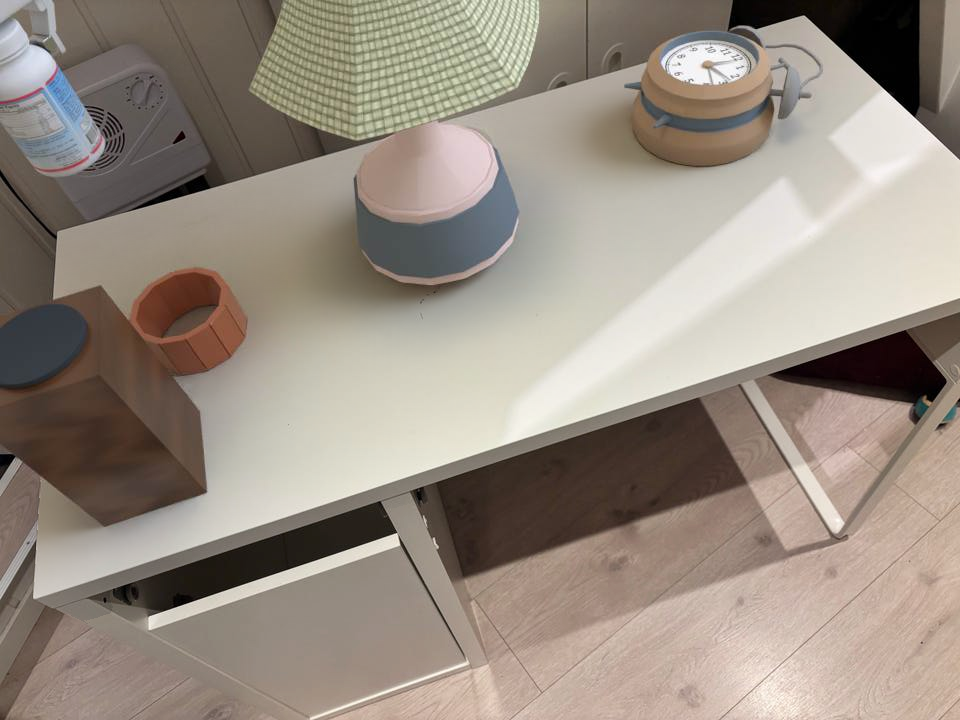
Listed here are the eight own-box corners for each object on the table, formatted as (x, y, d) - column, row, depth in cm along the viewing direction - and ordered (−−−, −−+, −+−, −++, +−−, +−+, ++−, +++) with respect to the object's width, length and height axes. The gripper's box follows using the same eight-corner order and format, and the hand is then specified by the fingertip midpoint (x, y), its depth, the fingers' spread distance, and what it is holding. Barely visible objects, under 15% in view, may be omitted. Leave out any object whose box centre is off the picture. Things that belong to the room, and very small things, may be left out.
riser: (104, 527, 70) (-35, 417, 55) (105, 441, 76) (-20, 321, 61) (207, 492, 71) (99, 374, 56) (200, 410, 77) (100, 284, 62)
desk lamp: (305, 210, 94) (148, -170, 61) (512, 141, 97) (469, -256, 64) (353, 356, 79) (178, -46, 46) (597, 268, 82) (597, -167, 49)
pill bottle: (71, 130, 66) (-11, 7, 57) (122, 141, 64) (45, 15, 55) (22, 173, 63) (-73, 49, 54) (73, 186, 61) (-17, 59, 52)
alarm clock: (612, 40, 92) (786, -8, 93) (611, 105, 99) (772, 60, 101) (670, 116, 82) (864, 61, 83) (664, 182, 89) (842, 131, 90)
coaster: (-20, 402, 56) (-25, 398, 55) (-9, 326, 60) (-14, 321, 60) (86, 369, 56) (82, 364, 56) (88, 296, 61) (84, 291, 61)
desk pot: (210, 384, 79) (187, 353, 75) (135, 360, 83) (109, 329, 78) (264, 312, 84) (246, 279, 80) (191, 291, 88) (170, 259, 84)
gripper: (-231, -32, 40) (-55, 172, 51) (35, -176, 51) (134, 18, 62) (-296, -40, 42) (-113, 158, 53) (-27, -177, 53) (79, 12, 64)
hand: (21, 82), depth 58 cm, fingers closed on pill bottle, 6 cm apart
